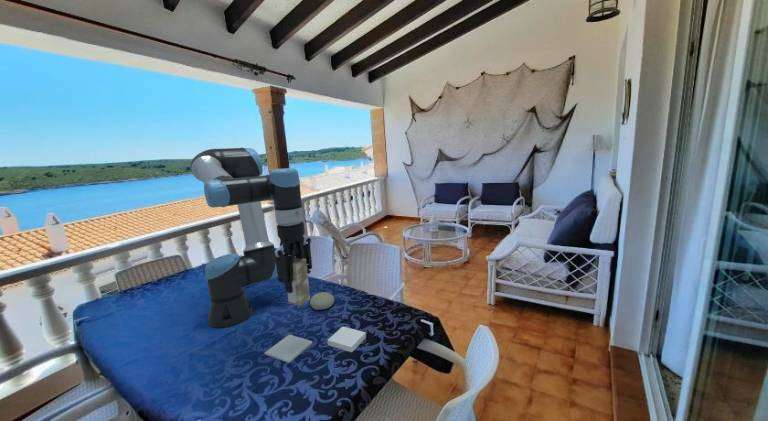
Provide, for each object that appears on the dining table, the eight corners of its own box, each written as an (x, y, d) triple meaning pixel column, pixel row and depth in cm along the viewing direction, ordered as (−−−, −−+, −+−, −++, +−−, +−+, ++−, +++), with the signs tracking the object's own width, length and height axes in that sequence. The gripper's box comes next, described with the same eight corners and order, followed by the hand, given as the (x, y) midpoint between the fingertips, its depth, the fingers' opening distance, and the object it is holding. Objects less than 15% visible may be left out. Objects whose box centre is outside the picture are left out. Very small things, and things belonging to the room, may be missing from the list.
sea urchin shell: (331, 307, 112) (315, 293, 112) (318, 320, 114) (303, 306, 114) (339, 296, 121) (325, 282, 121) (328, 308, 123) (313, 295, 123)
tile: (327, 340, 92) (351, 347, 88) (342, 326, 99) (365, 332, 95) (328, 346, 92) (352, 353, 88) (343, 332, 99) (366, 338, 95)
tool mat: (264, 354, 90) (264, 352, 90) (289, 336, 98) (289, 334, 98) (289, 363, 85) (289, 361, 85) (312, 343, 94) (312, 341, 94)
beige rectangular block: (300, 305, 87) (295, 264, 85) (288, 303, 89) (283, 262, 87) (310, 298, 91) (305, 258, 89) (298, 296, 93) (294, 257, 91)
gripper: (277, 231, 76) (287, 314, 81) (319, 216, 92) (326, 287, 96) (256, 229, 80) (267, 309, 84) (300, 215, 95) (308, 283, 100)
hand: (298, 297), depth 90 cm, fingers closed on beige rectangular block, 4 cm apart
